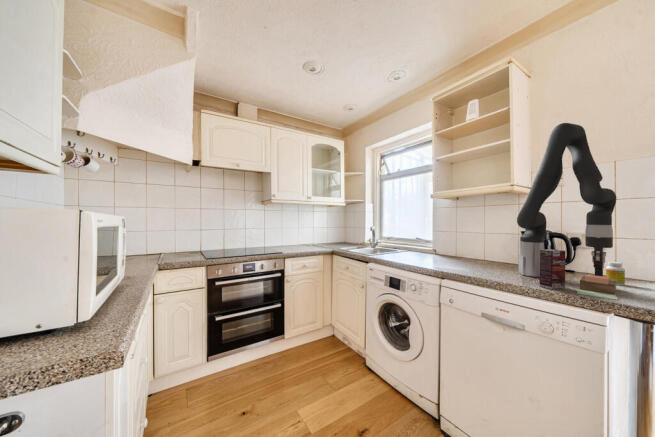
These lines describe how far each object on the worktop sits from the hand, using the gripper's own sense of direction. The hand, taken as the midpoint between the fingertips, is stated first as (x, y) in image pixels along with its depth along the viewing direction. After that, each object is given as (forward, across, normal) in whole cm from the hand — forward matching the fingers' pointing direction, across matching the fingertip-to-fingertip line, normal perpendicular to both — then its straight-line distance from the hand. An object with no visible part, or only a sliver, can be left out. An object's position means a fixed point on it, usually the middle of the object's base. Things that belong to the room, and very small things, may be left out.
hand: (598, 277), depth 98 cm
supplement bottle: (+5, -18, +4) cm, 19 cm away
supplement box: (+5, +12, -12) cm, 18 cm away
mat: (+5, +12, 0) cm, 13 cm away
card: (+1, +6, 0) cm, 6 cm away
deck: (+5, +1, 0) cm, 5 cm away
